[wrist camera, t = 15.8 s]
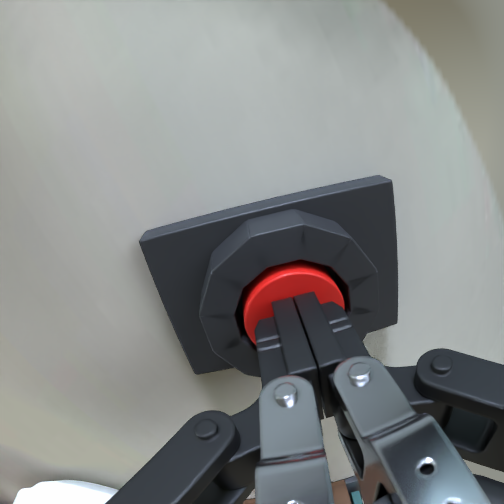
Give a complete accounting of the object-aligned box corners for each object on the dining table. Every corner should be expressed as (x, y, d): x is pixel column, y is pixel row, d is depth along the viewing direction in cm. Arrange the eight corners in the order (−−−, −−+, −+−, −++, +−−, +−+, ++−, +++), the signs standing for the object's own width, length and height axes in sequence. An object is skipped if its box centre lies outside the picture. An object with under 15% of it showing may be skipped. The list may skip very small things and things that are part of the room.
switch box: (379, 174, 13) (416, 190, 10) (388, 311, 15) (414, 346, 13) (145, 230, 13) (124, 260, 10) (196, 359, 16) (192, 403, 13)
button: (325, 241, 12) (340, 260, 10) (335, 318, 13) (348, 343, 12) (231, 264, 12) (232, 287, 10) (253, 339, 13) (257, 366, 12)
